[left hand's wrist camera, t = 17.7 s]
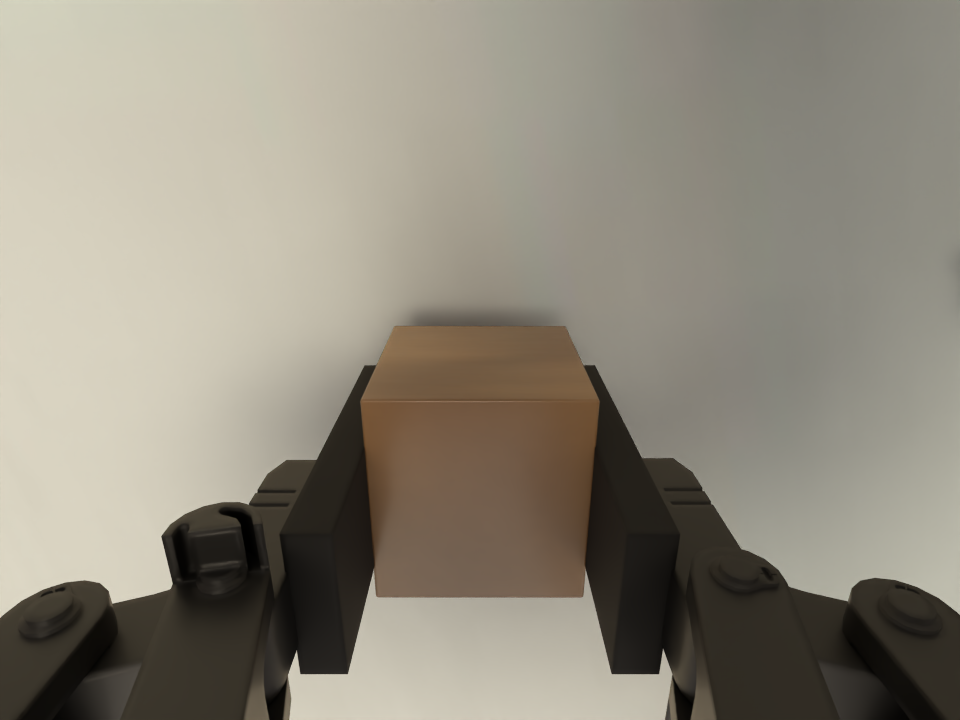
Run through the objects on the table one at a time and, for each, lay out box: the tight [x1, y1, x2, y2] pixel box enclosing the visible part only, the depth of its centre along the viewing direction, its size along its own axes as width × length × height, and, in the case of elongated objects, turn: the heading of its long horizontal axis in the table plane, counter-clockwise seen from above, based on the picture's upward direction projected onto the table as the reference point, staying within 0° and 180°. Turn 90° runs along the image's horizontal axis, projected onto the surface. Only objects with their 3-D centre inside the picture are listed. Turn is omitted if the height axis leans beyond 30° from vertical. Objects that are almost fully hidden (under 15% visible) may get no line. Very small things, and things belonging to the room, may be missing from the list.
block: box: [360, 326, 600, 597], centre depth 13 cm, size 4×4×4 cm
